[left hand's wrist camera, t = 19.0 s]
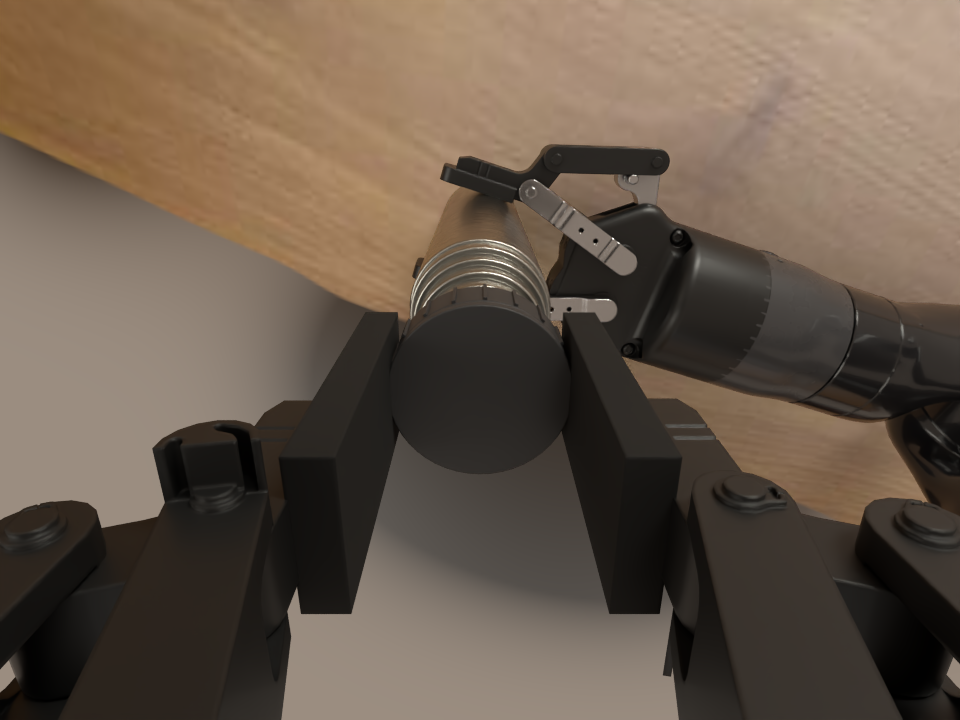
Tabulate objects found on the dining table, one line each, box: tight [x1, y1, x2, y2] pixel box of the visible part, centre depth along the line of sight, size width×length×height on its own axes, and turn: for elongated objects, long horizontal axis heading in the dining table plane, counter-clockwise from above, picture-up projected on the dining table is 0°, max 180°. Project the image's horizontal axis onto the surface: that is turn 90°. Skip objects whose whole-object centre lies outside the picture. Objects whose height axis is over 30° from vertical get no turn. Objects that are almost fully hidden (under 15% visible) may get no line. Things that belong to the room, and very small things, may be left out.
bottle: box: [410, 187, 551, 320], centre depth 25 cm, size 4×4×25 cm
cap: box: [390, 284, 571, 474], centre depth 14 cm, size 4×4×2 cm
